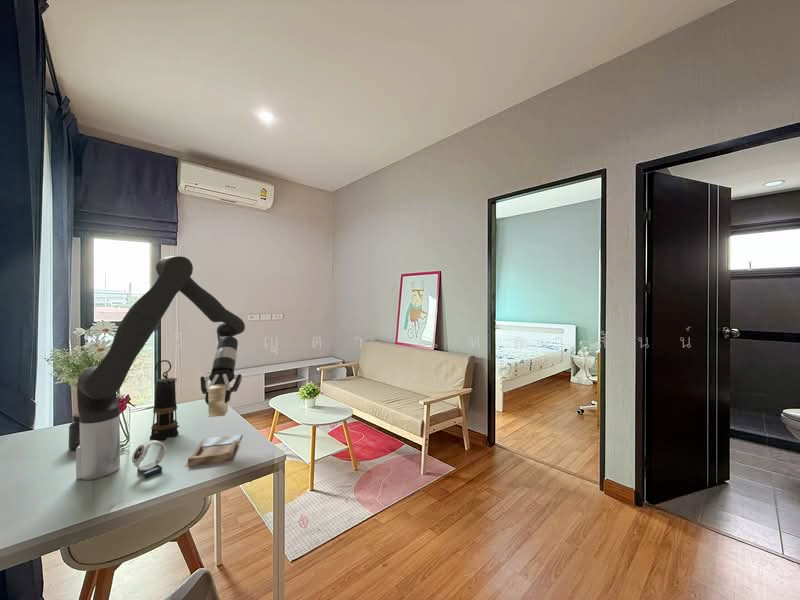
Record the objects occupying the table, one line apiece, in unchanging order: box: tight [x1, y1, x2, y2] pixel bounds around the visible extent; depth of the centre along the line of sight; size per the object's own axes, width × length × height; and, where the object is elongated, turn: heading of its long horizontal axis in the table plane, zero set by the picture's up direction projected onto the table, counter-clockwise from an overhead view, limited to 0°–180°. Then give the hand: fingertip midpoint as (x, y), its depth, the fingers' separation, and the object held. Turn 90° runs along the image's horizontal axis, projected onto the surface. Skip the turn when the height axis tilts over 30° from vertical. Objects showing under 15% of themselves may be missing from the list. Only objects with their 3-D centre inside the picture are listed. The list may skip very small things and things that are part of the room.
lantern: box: [149, 359, 180, 442], centre depth 127 cm, size 9×9×30 cm
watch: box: [131, 440, 167, 480], centre depth 98 cm, size 6×8×11 cm
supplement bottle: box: [68, 413, 80, 452], centre depth 117 cm, size 7×7×12 cm
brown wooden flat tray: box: [184, 434, 244, 468], centre depth 114 cm, size 14×20×4 cm
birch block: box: [207, 384, 229, 418], centre depth 115 cm, size 5×5×10 cm
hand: (217, 402), depth 113 cm, fingers closed on birch block, 5 cm apart
